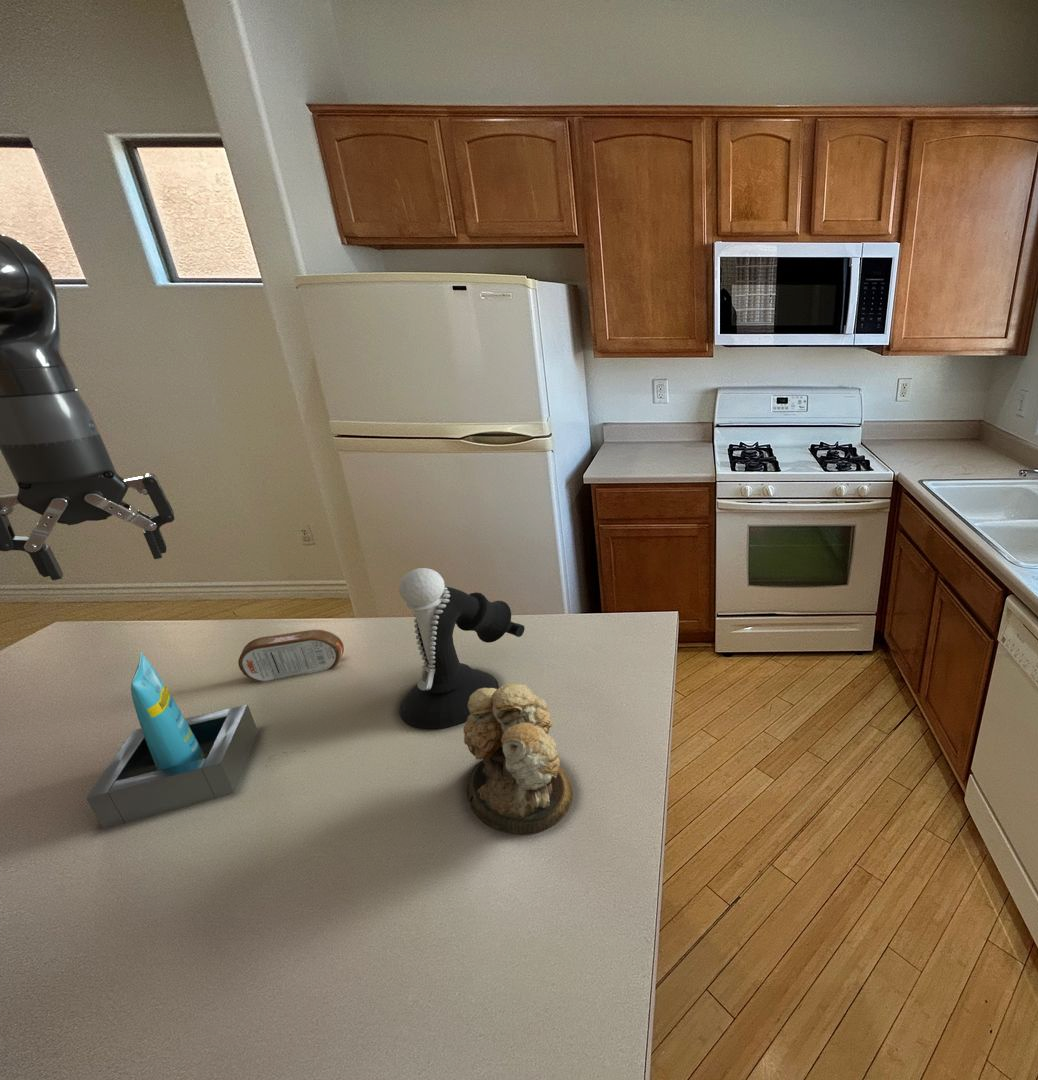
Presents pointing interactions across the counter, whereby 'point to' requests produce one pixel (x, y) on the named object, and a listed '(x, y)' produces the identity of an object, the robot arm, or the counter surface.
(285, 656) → the tin
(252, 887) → the counter surface
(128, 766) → the stand
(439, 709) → the sculpture
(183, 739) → the tube
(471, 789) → the owl figurine
